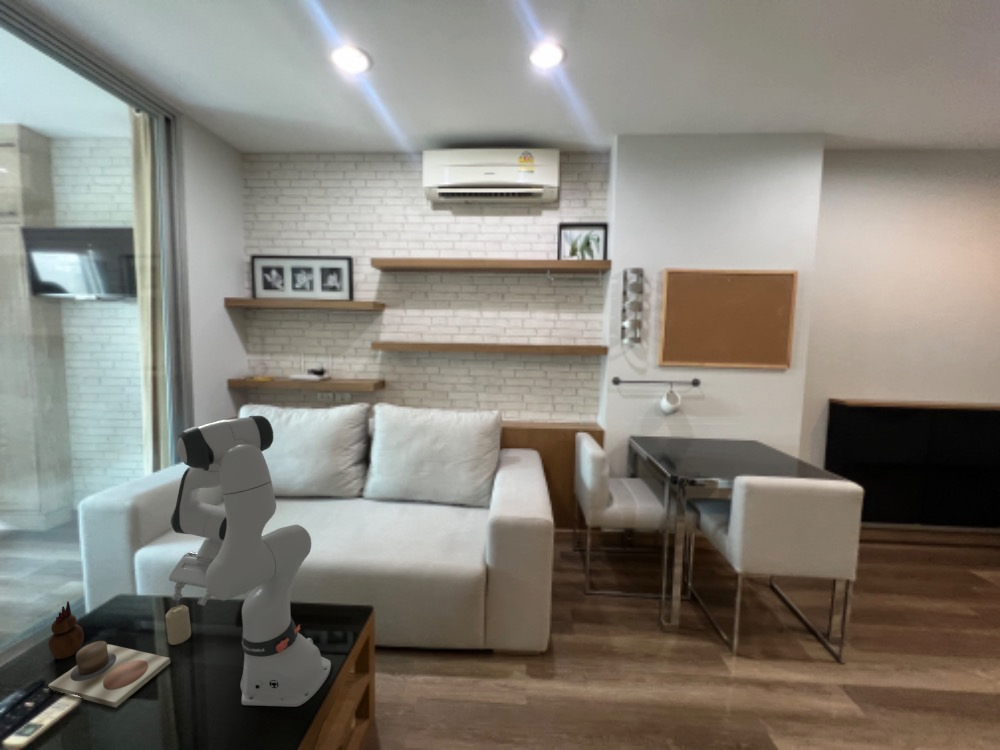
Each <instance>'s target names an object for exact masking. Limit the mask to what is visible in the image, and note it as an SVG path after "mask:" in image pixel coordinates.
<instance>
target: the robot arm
mask: <svg viewBox="0 0 1000 750" xmlns="http://www.w3.org/2000/svg"><path fill="white" fill-rule="evenodd" d="M273 442H274V430H273V427H272V424H271V422H270V421H269V420H268V418H266V417H265V416H263V415H250V416H246V417H237V418H231V419H221V420H217V421H212V422H209V423H206V424H203V425H199V426H196V425H195V426H192V427H189V428H186V429H185V430H183V431H181V432H180V433H179V435H178V439H177V444H176V450H177V451H176V452H177V454H178V456H179V459H181V460H182V463H184V465H186V466H188V467H187V468H186V469H185V471H184V472H183V475H182V477H181V480H180V484H179V489H178V493H177V498H176V503H175V508H174V510H173V512H172V515H171V517H170V525H171V527H172V529H173V531H174V532H175V533H177V534H184V535H191V536H196V537H200V538H205V539H204V540H203V542H202V544H201V545H200V548H199V549H198V551H197V552H194V551H189V552H186V553H185V554H184V555H183V556H182V557H181V558H180V559H179V561H178V562H177V564H176V565H175V567H174V568H173V569H172V570H171V572H170V573H169V576H168V581H169V582H173V583H175V585H174V593H173V595H172V597H171V600H173V601H180V600H181V598H182V597H183V594H182V590H183V589H184V588H185V586H186V585H188V586H192V587H193V586H195V587H198V588H204V589H206V592H205V595H203V596H202V597H199V598H198V601H197V605H200V606H206V604H207V601H208V600H210V598H212V597H214V598H215V599H216V600H220V601H227V600H231V599H233V598H236V597H239V596H242V595H245V594H246V593H247V594H248V593H249V592H250V593H249V594H248V595H247V596H246V598H245V599H244V601H243V603H242V607H241V620H242V621H241V622H242V633H241V645H242V646H241V647H242V651H243V653H244V657H243V658H244V659H243V668H242V669H243V671H242V676H241V680H240V682H239V683H240V686H239V687H240V691H241V694H242V695H241V702H240V703H241V705H243V706H259V707H260V706H264V707H265V706H266V707H299V706H302V705H303V704H305V703H306V702H307V701H309V700H310V699H311V698H312V697H313V696H314V695H315V694H316V693H317V691H319V690H320V688H321V687H322V686H323V684H324V683H325V681H326V680H327V678H328V676H329V675H330V672H331V669H332V663H331V660H329V659H328V658H325V657H323V656H321V655H322V654H321V652H320V649H319V648H318V646H316V645H315V644H314V641H313V639H312V638H311V637H307V638H306V637H305V636H303V634H301V633H300V632H299V631H300V629H301V627H300V626H301V624H298V625H296V623H295V622H294V619H293V618H292V616H291V594H292V589H293V588H292V587H293V584H294V582H295V579H296V577H297V574H298V571H299V569H300V567H301V566H302V564H303V563H304V562H305V559H307V557H308V556H309V554H310V552H311V549H312V538H311V535H310V533H309V532H308V530H307V529H306V528H305V527H304V526H302V525H299V524H293V525H288V526H283V527H280V528H277V529H274V530H273V531H271V532H269V533H267V534H264V535H262V534H263V533H264V532H263V531H264V528H265V527H266V525H267V524H268V522H269V521H271V519H272V517H273V516H274V515H275V513H276V510H277V502H276V501H277V500H276V497H275V492H274V487H273V481H272V478H271V474H270V469H269V466H268V464H267V461H266V458H265V456H264V453H263V451H265V450H268V449H269V448H271V446H272V444H273ZM217 487H220V488H221V489H220V490H221V494H222V498H223V503H224V506H218V505H216V504H215V505H214V504H211V503H210V504H209V503H205V502H203V501H201V500H200V499H198V496H199V493H200V492H199V491H200V489H214V488H217Z"/></svg>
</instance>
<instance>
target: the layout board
mask: <svg viewBox="0 0 1000 750" xmlns="http://www.w3.org/2000/svg"><path fill="white" fill-rule="evenodd" d="M75 657H76V658H75V660H76V665H75V666H73V667H72V668H71V669H70V670H68V671H67V672H65V673H63V674H62V675H61V676H59V677H57V678H56V679H54V680H53V681H52V682H50V683H49V684H47V688H48V687H49V688H51V689H53V690H55V691H58V692H61V693H60V694H62V693H65V694H64V695H66V694H75V695H78V696H80V697H82V698H83V699H82V700H86V701H89V702H93V703H96V704H100V705H105V706H108V707H112V708H118V706H120V705H121V704H122V703H123V702H125V701H126V700H128V698H130V697H131V696H132V695H133V694H135V693H136V692H137V691H138V690H139V689H141V688H142V687H143V686H144V685H145V684H147V683H148V682H149V681H150V680H152V679H153V678H154V677H155V676H157V675H158V674H159V673H160V672H161V671H162V670H163V669H165V668H166V667H167V666H168V665H170V664H171V658H170V657H167V656H162V655H157V654H154V653H149V652H144V651H140V650H136V649H132V648H127V647H123V646H118V645H114V644H109V643H108V644H107V642H106V641H105V640H98V641H94V642H91V643H89V644H86V645H85V646H83V647H81V648H80V650H79V651H77V652H76V653H75ZM49 688H48V689H49ZM55 691H54V692H55ZM58 692H57V693H58Z"/></svg>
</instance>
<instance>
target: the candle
mask: <svg viewBox="0 0 1000 750" xmlns="http://www.w3.org/2000/svg"><path fill="white" fill-rule="evenodd" d="M164 617H165V626H166V634H167V641H168V644H169V645H171V646H173V645H174V646H175V645H180V644H182V643H184V642H185V641H187V640H188V639H190V637H191V636H192V630H191V618H190V609H189V606H188V605H187V606H186V605H184V604H179V605H177V606H173V607H171V608H170V609H169V610H168V611H167V613H165V616H164Z"/></svg>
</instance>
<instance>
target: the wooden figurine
mask: <svg viewBox="0 0 1000 750" xmlns="http://www.w3.org/2000/svg"><path fill="white" fill-rule="evenodd" d="M51 633H52V635H51V636H50V638H49V639H48V647H49V651H50V653H51V655H52V656H53V658H55V659H57V660H64V659H68V658H70V657H72V656H73V655H76V654H77V652H78V651H79V650H80V649H82V645H83V643H84V639H85V637H84V636H85V634H84V630H83V627H81V626H80V625H79V624H77V617H76V616H75V615H74V614H72V610H71V606H70V601H67V602H66V607H65V606H61V611H60V612H59V611H58V616H56V617H55V620H54V621H53V622H52V624H51Z"/></svg>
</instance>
